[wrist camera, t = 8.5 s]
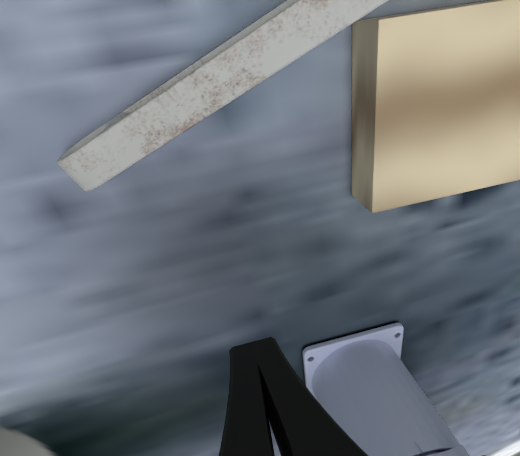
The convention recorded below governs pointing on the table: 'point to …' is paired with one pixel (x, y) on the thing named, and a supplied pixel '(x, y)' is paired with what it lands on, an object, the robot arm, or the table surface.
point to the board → (435, 103)
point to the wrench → (209, 85)
